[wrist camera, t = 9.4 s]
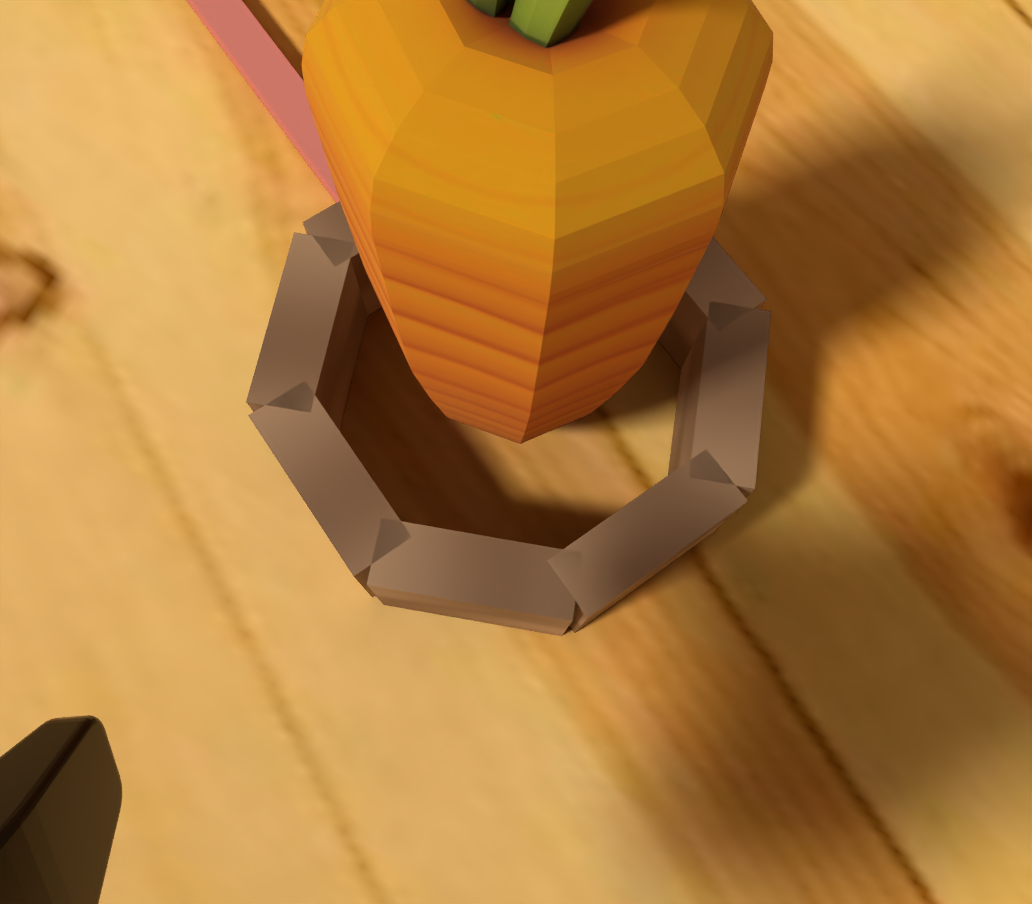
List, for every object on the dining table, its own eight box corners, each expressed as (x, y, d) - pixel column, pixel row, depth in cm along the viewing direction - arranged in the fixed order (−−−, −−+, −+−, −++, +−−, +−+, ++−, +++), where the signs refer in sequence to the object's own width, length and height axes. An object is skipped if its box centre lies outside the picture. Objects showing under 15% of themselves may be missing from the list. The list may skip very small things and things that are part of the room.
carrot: (346, 416, 19) (-93, -607, 4) (505, 267, 20) (557, -905, 6) (517, 575, 18) (649, -81, 4) (673, 408, 19) (1234, -571, 5)
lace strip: (416, 238, 20) (414, 227, 20) (288, 315, 19) (283, 305, 19) (86, -196, 24) (78, -215, 23) (-31, -144, 23) (-42, -163, 23)
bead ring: (819, 454, 19) (867, 414, 16) (453, 720, 17) (447, 719, 15) (559, 145, 21) (568, 70, 19) (210, 351, 19) (170, 297, 17)
